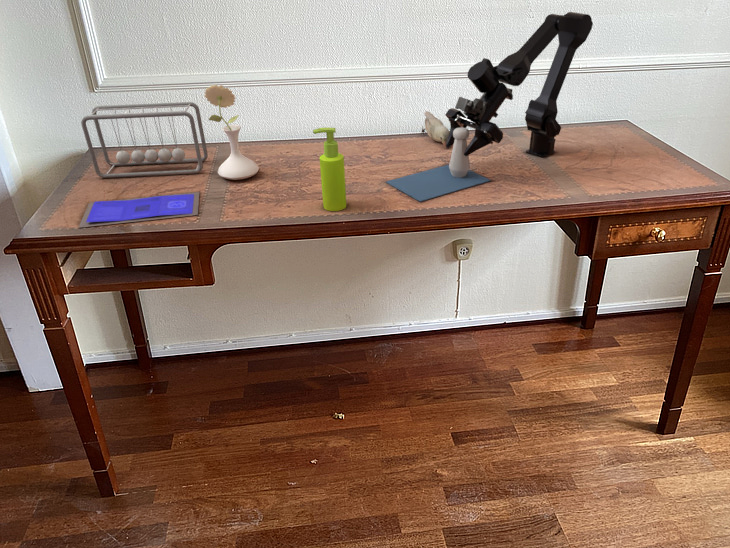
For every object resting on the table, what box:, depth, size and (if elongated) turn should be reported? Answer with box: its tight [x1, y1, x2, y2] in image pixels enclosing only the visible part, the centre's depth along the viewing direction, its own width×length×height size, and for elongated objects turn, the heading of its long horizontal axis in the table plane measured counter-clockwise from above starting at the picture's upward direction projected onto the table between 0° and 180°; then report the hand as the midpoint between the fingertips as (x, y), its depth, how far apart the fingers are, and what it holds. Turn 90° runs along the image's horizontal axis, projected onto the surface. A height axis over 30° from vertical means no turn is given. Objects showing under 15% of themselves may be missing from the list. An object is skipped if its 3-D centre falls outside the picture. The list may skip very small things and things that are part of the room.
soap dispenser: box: [312, 126, 347, 212], centre depth 148 cm, size 6×7×20 cm
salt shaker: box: [448, 127, 471, 178], centre depth 165 cm, size 6×6×13 cm
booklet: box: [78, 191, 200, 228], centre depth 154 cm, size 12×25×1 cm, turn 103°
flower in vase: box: [203, 84, 260, 181], centre depth 165 cm, size 13×11×25 cm
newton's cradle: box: [80, 101, 209, 179], centre depth 172 cm, size 30×10×18 cm, turn 95°
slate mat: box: [385, 163, 492, 203], centre depth 165 cm, size 24×16×1 cm, turn 123°
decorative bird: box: [420, 110, 450, 149], centre depth 191 cm, size 5×16×8 cm, turn 21°
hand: (455, 151), depth 164 cm, fingers open, 7 cm apart
